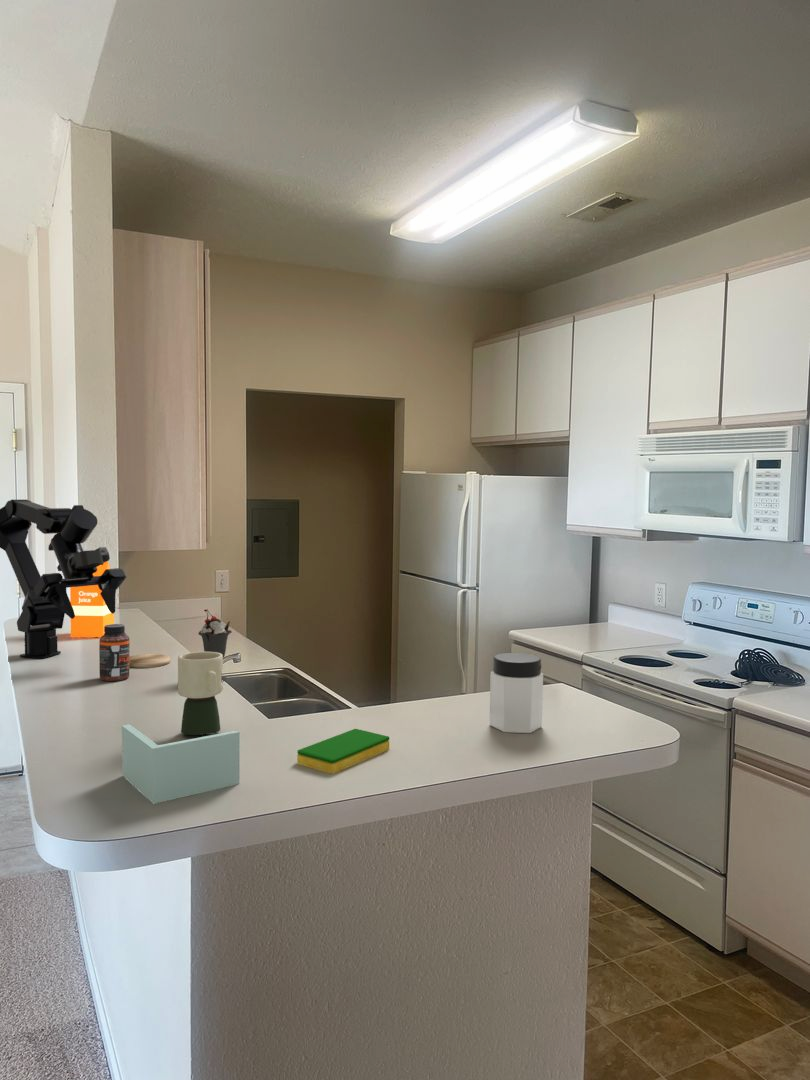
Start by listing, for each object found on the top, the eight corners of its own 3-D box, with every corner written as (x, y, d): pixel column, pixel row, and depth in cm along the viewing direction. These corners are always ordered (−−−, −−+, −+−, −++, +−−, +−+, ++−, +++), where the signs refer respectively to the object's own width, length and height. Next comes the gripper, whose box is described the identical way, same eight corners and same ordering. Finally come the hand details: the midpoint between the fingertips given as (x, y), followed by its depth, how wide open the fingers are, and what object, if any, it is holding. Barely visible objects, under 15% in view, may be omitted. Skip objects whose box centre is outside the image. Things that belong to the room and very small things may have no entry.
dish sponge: (390, 751, 124) (390, 736, 124) (332, 776, 113) (332, 760, 113) (355, 742, 128) (355, 727, 128) (295, 766, 117) (295, 750, 117)
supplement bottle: (123, 682, 163) (122, 627, 163) (94, 681, 164) (94, 627, 163) (133, 675, 169) (133, 623, 169) (106, 675, 170) (105, 622, 169)
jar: (550, 730, 134) (552, 660, 134) (510, 736, 131) (511, 664, 130) (520, 716, 142) (522, 650, 142) (481, 722, 139) (483, 654, 138)
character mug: (235, 738, 128) (235, 658, 127) (193, 746, 124) (193, 664, 123) (207, 722, 137) (207, 647, 136) (167, 729, 132) (166, 652, 131)
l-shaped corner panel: (239, 785, 109) (239, 732, 108) (152, 806, 101) (152, 748, 101) (203, 761, 118) (203, 711, 118) (122, 778, 111) (121, 725, 110)
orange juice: (103, 638, 210) (102, 563, 209) (70, 637, 210) (69, 562, 209) (114, 632, 218) (113, 560, 217) (82, 632, 218) (81, 559, 217)
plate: (114, 666, 178) (114, 661, 178) (140, 657, 188) (140, 652, 188) (154, 669, 175) (154, 664, 175) (178, 660, 185) (178, 655, 185)
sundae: (191, 681, 165) (191, 609, 164) (211, 674, 171) (211, 605, 170) (218, 684, 163) (218, 611, 162) (237, 677, 169) (237, 607, 168)
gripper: (42, 536, 165) (66, 599, 160) (124, 533, 180) (148, 590, 174) (23, 566, 171) (46, 628, 166) (104, 560, 186) (127, 617, 180)
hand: (94, 615), depth 171 cm, fingers open, 9 cm apart
